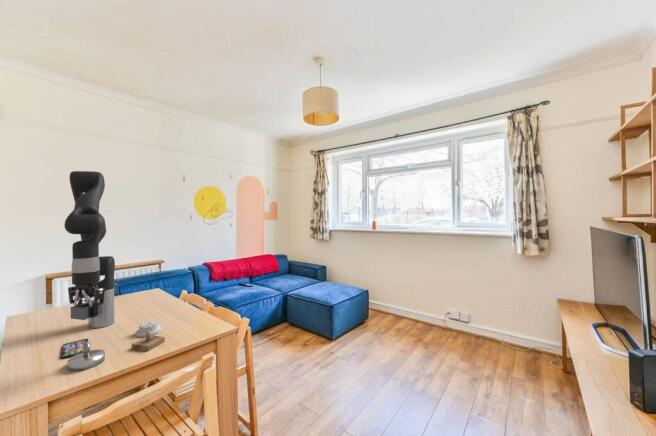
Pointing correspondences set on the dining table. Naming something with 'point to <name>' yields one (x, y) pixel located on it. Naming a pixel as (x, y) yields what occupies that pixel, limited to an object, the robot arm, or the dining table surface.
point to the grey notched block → (83, 311)
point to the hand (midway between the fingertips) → (86, 315)
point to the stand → (148, 342)
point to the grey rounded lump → (148, 328)
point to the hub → (86, 359)
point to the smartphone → (72, 348)
